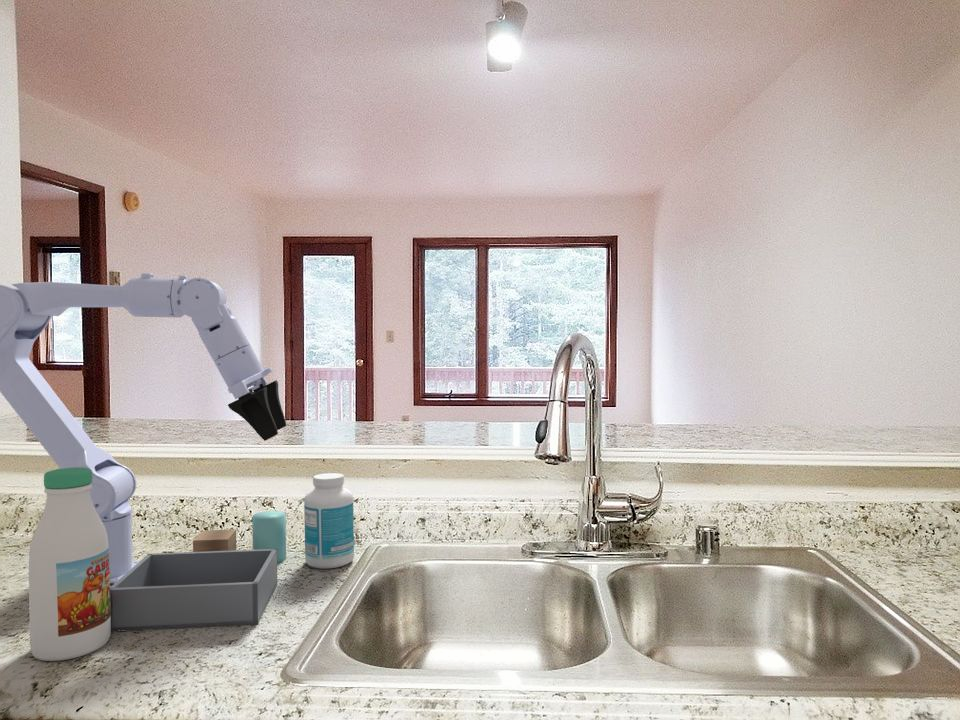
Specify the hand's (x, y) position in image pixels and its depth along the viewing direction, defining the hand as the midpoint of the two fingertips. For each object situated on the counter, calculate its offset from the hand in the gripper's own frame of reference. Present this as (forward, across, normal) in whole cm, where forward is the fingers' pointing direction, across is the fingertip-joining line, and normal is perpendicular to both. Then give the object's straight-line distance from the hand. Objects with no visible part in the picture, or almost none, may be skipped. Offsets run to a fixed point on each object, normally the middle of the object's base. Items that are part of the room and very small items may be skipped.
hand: (276, 433), depth 100 cm
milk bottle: (+9, -25, +25) cm, 37 cm away
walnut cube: (+14, 0, +18) cm, 22 cm away
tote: (+14, -15, +16) cm, 26 cm away
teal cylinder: (+17, +2, +11) cm, 21 cm away
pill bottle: (+22, 0, +2) cm, 22 cm away
